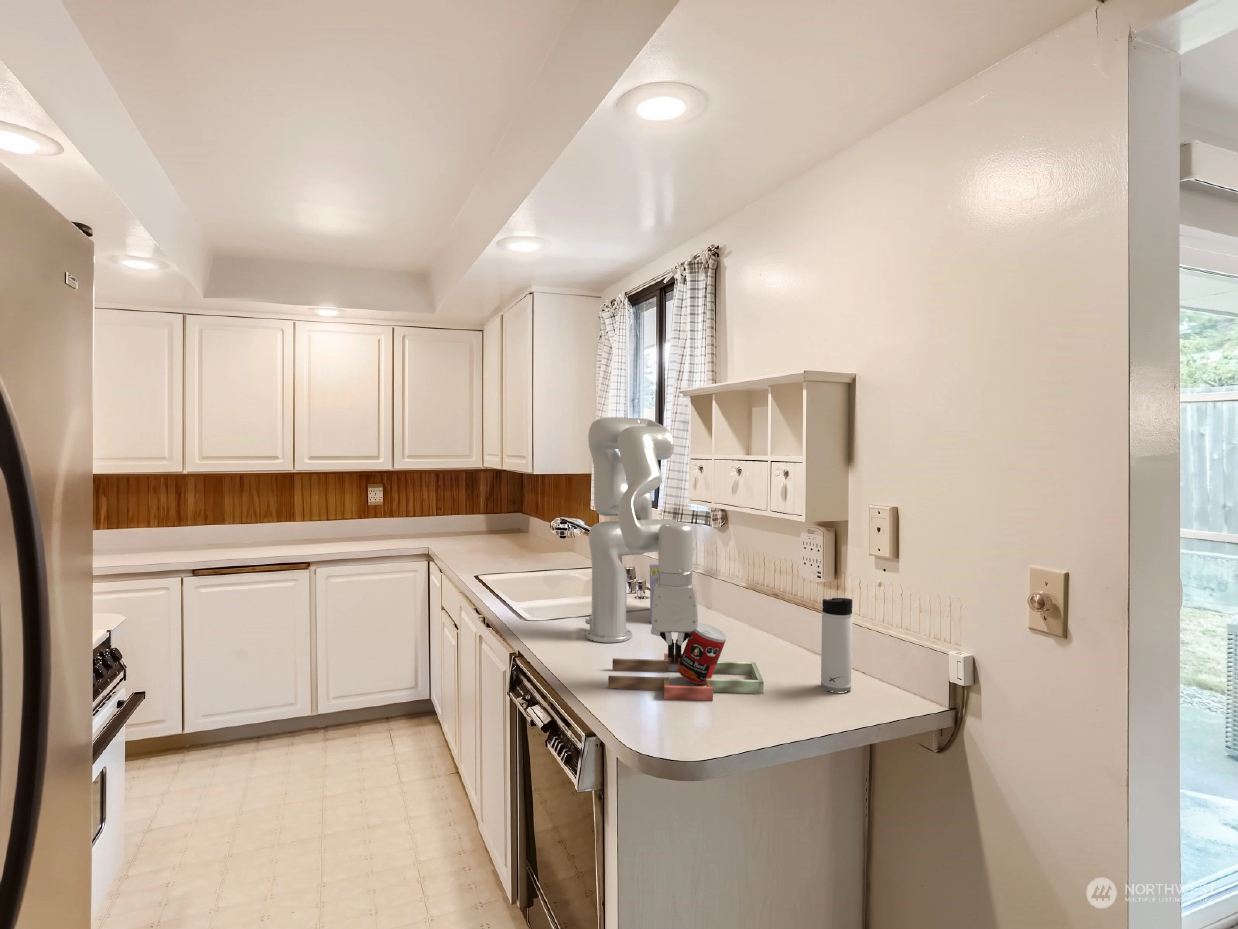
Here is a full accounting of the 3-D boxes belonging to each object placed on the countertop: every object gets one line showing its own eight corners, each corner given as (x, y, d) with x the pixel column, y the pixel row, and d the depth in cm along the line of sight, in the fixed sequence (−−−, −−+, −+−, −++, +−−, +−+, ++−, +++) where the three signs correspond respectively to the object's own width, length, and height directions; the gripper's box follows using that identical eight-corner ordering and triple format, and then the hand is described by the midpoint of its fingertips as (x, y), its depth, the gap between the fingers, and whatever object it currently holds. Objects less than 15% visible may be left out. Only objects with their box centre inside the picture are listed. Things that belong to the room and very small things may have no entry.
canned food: (671, 671, 149) (687, 625, 148) (685, 663, 156) (702, 620, 154) (701, 688, 145) (718, 642, 144) (715, 680, 152) (731, 635, 151)
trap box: (606, 697, 141) (606, 685, 140) (614, 662, 163) (614, 652, 163) (767, 702, 138) (767, 690, 138) (752, 666, 161) (752, 655, 161)
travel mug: (835, 696, 142) (837, 601, 142) (814, 685, 148) (816, 595, 148) (858, 692, 145) (860, 599, 144) (837, 682, 151) (838, 592, 150)
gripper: (640, 581, 147) (640, 665, 147) (710, 583, 146) (709, 667, 146) (642, 575, 155) (641, 655, 155) (708, 576, 153) (707, 657, 154)
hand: (674, 661), depth 151 cm, fingers closed
